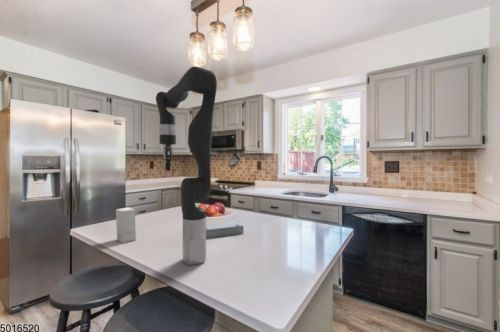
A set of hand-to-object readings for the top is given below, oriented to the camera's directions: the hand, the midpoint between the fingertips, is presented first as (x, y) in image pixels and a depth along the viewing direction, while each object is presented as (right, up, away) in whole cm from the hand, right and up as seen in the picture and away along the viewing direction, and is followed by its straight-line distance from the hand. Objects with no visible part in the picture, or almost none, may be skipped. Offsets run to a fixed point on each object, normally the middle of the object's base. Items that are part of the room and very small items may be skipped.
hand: (167, 170), depth 115 cm
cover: (+23, -31, +16) cm, 42 cm away
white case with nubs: (+23, -35, +16) cm, 44 cm away
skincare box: (-22, -35, +3) cm, 41 cm away
